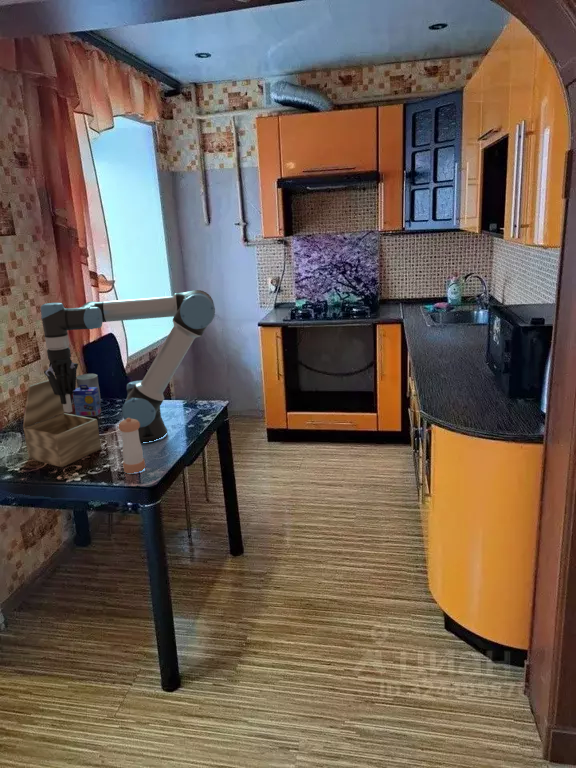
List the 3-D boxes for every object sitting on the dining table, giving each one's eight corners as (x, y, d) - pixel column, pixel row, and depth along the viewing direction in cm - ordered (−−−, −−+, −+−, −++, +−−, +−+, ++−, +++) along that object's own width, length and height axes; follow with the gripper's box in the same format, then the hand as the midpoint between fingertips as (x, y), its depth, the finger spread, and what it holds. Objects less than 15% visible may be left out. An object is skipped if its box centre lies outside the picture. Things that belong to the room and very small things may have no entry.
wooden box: (101, 448, 211) (97, 419, 207) (62, 467, 196) (56, 435, 192) (68, 441, 219) (64, 413, 216) (29, 458, 204) (23, 428, 201)
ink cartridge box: (75, 416, 248) (70, 385, 244) (80, 412, 254) (75, 382, 250) (97, 416, 248) (92, 385, 244) (101, 412, 253) (97, 381, 249)
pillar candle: (79, 402, 269) (74, 372, 265) (100, 399, 273) (96, 369, 268) (80, 408, 260) (76, 377, 256) (102, 404, 264) (98, 374, 260)
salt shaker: (120, 474, 188) (113, 421, 183) (129, 465, 195) (123, 414, 189) (140, 475, 187) (133, 422, 181) (149, 466, 193) (143, 414, 188)
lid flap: (71, 374, 207) (69, 373, 208) (29, 386, 193) (28, 385, 193) (63, 412, 216) (62, 411, 216) (23, 427, 201) (22, 426, 201)
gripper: (66, 343, 201) (75, 405, 207) (35, 350, 190) (45, 415, 196) (80, 344, 197) (89, 407, 204) (49, 352, 186) (60, 418, 193)
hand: (68, 411), depth 200 cm, fingers closed
